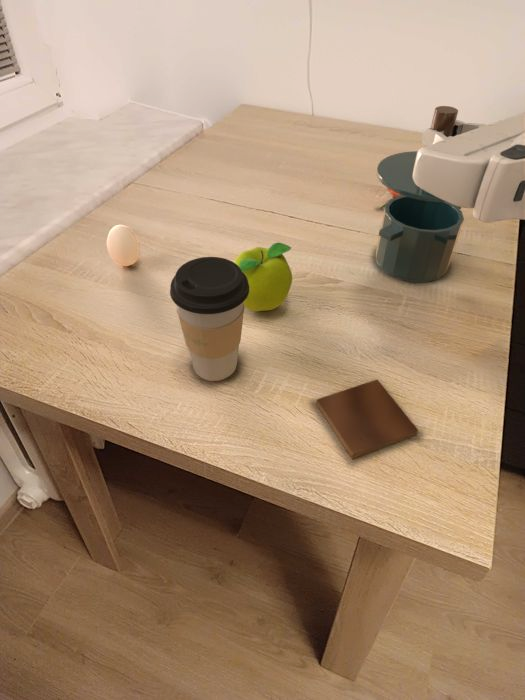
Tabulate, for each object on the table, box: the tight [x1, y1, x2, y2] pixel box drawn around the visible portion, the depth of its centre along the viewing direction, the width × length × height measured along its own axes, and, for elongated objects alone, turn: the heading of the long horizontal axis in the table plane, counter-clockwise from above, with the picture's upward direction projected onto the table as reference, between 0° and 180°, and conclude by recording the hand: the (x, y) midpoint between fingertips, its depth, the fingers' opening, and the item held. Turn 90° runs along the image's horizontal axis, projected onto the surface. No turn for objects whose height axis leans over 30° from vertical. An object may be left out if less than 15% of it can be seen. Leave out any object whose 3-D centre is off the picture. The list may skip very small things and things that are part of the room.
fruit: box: [233, 242, 293, 312], centre depth 75 cm, size 9×9×10 cm
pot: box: [375, 195, 465, 283], centre depth 84 cm, size 12×18×10 cm
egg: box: [106, 224, 141, 267], centre depth 84 cm, size 5×5×7 cm
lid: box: [376, 105, 459, 202], centre depth 61 cm, size 13×13×9 cm
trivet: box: [315, 379, 419, 460], centre depth 62 cm, size 9×9×1 cm
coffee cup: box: [169, 256, 249, 382], centre depth 63 cm, size 9×9×15 cm
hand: (437, 131), depth 60 cm, fingers closed on lid, 2 cm apart
